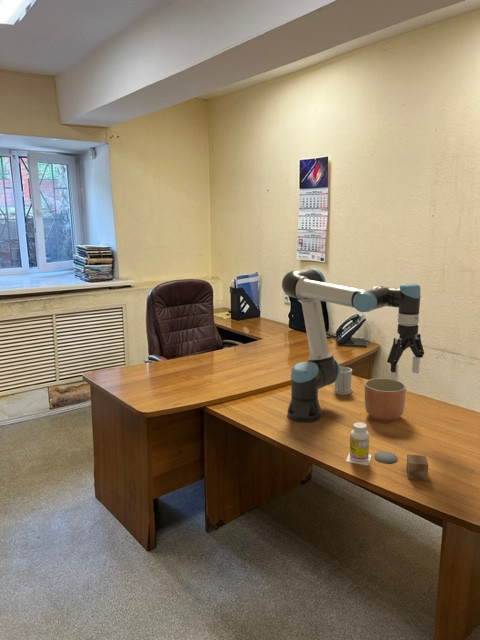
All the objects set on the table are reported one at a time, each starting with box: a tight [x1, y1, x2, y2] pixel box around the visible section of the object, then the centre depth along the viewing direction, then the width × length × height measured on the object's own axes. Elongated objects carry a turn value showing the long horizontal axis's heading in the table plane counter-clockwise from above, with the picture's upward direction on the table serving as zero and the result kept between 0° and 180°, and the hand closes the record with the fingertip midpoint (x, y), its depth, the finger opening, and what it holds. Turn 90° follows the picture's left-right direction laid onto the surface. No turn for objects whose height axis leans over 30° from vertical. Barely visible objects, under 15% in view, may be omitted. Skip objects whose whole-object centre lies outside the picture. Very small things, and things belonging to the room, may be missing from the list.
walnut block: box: [405, 454, 429, 482], centre depth 158 cm, size 6×6×6 cm
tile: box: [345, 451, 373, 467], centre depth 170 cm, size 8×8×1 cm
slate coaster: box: [374, 450, 398, 464], centre depth 170 cm, size 8×8×1 cm
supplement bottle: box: [349, 421, 370, 462], centre depth 169 cm, size 7×7×13 cm
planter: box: [364, 377, 407, 423], centre depth 203 cm, size 17×17×15 cm
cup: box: [333, 366, 353, 396], centre depth 234 cm, size 10×9×12 cm
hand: (404, 376), depth 185 cm, fingers open, 13 cm apart
